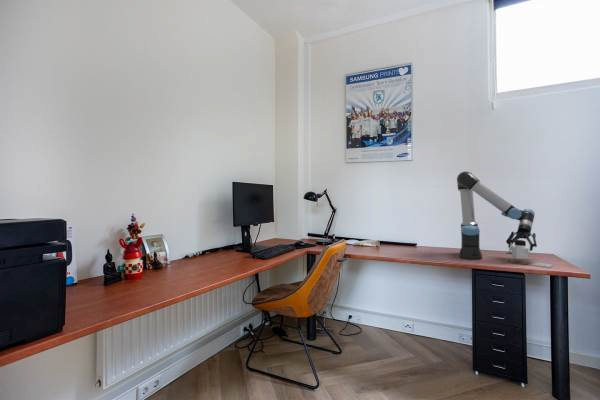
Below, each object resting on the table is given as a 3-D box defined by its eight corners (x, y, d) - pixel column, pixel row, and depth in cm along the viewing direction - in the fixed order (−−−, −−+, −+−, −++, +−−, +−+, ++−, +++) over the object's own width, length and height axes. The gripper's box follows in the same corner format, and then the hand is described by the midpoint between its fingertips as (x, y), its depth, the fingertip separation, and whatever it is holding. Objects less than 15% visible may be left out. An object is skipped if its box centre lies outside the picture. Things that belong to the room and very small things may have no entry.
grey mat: (530, 265, 195) (530, 264, 195) (534, 263, 201) (533, 262, 201) (550, 267, 187) (550, 267, 187) (553, 265, 194) (553, 264, 194)
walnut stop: (507, 262, 204) (507, 259, 203) (507, 262, 204) (507, 259, 204) (527, 265, 195) (527, 262, 195) (527, 265, 196) (527, 261, 196)
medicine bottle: (528, 259, 199) (529, 241, 199) (516, 258, 200) (517, 240, 200) (523, 256, 206) (523, 239, 206) (511, 256, 207) (511, 239, 207)
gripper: (545, 232, 205) (540, 258, 195) (507, 229, 222) (500, 253, 211) (544, 225, 201) (539, 251, 191) (505, 223, 218) (498, 246, 208)
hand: (518, 252), depth 201 cm, fingers closed on medicine bottle, 10 cm apart
